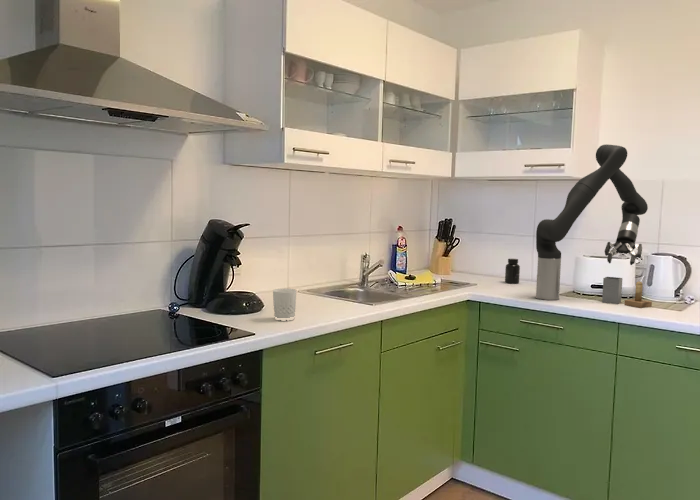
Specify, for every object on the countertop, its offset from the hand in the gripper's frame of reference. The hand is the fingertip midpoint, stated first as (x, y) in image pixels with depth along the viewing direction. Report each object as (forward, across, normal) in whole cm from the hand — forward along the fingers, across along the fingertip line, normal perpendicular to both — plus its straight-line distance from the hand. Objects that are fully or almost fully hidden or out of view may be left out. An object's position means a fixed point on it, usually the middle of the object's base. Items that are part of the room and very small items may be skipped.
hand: (620, 262), depth 249 cm
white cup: (+97, -80, -75) cm, 147 cm away
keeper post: (+20, +10, +1) cm, 23 cm away
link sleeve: (+19, 0, +2) cm, 19 cm away
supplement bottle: (+2, -51, +20) cm, 55 cm away
